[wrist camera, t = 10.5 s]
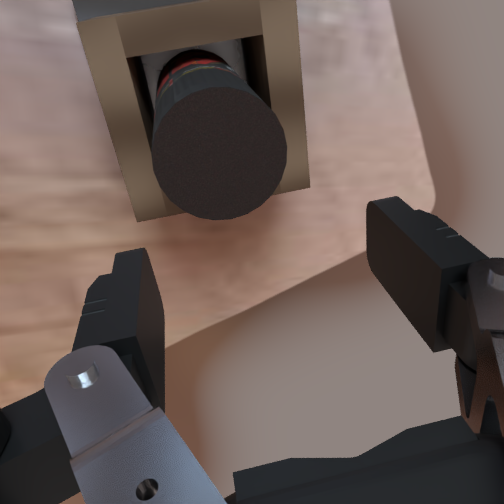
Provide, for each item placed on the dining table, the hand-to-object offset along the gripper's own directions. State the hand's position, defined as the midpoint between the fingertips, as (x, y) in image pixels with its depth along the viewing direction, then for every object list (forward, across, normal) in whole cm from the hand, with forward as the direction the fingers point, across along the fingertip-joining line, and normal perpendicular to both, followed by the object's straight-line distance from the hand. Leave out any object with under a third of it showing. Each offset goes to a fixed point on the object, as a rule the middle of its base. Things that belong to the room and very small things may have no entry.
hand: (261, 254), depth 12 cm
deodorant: (+24, 0, 0) cm, 24 cm away
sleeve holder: (+26, 0, 0) cm, 26 cm away
